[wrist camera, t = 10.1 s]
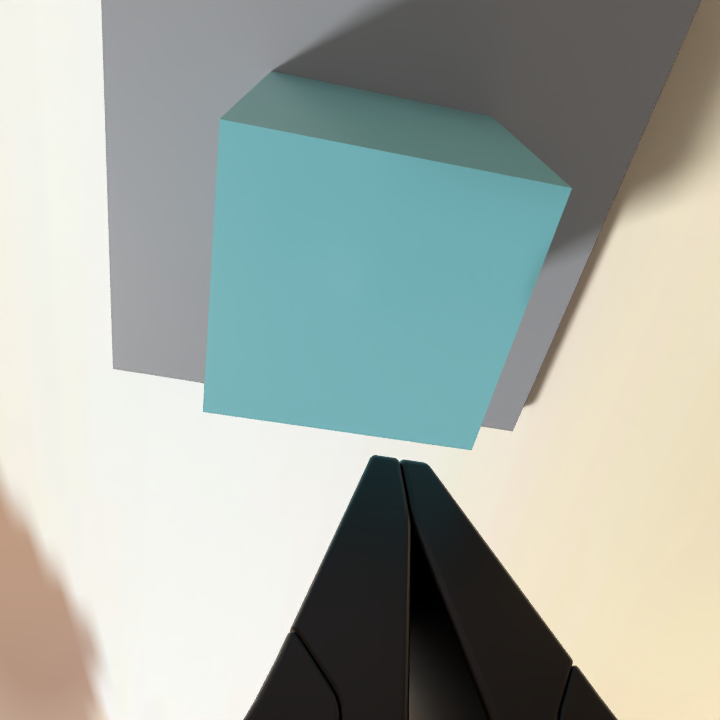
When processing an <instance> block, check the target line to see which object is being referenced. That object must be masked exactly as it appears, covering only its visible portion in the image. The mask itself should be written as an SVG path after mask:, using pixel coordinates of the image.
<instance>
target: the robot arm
mask: <svg viewBox="0 0 720 720" xmlns="http://www.w3.org/2000/svg"><path fill="white" fill-rule="evenodd" d="M572 664H573V661H572V659H571V657H570V656H569V655H568V653H567V652H566V650H565V649H564V648H563V646H562V645H561V644H560V642H559V641H558V640H557V638H556V637H555V636H554V634H553V633H552V631H551V630H550V629H549V627H548V626H547V625H546V623H545V622H544V621H543V619H542V618H541V617H540V615H539V614H538V612H537V611H536V610H535V608H534V607H533V606H532V604H531V603H530V602H529V600H528V599H527V598H526V596H525V595H524V593H523V592H522V591H521V589H520V588H519V587H518V585H517V584H516V583H515V581H514V580H513V579H512V577H511V576H510V574H509V573H508V572H507V570H506V569H505V568H504V566H503V565H502V564H501V562H500V561H499V560H498V558H497V557H496V556H495V554H494V553H493V551H492V550H491V549H490V547H489V546H488V545H487V543H486V542H485V541H484V539H483V538H482V537H481V535H480V534H479V532H478V531H477V530H476V528H475V527H474V526H473V524H472V523H471V522H470V520H469V519H468V518H467V516H466V515H465V513H464V512H463V511H462V509H461V508H460V507H459V505H458V504H457V503H456V501H455V500H454V499H453V497H452V496H451V494H450V493H449V492H448V490H447V489H446V488H445V486H444V485H443V484H442V482H441V481H440V480H439V478H438V477H437V475H436V474H435V473H434V471H433V470H432V469H431V467H430V466H429V465H427V464H426V463H423V462H416V461H410V460H402V461H400V462H399V461H398V460H397V459H396V458H391V457H384V456H378V455H374V456H372V457H371V458H370V460H369V462H368V464H367V466H366V468H365V471H364V473H363V475H362V477H361V479H360V481H359V483H358V486H357V488H356V490H355V492H354V494H353V496H352V498H351V501H350V503H349V505H348V507H347V509H346V511H345V513H344V516H343V518H342V520H341V522H340V524H339V526H338V528H337V531H336V533H335V535H334V537H333V539H332V541H331V543H330V545H329V548H328V550H327V552H326V554H325V556H324V558H323V560H322V563H321V565H320V567H319V569H318V571H317V573H316V575H315V578H314V580H313V582H312V584H311V586H310V588H309V590H308V593H307V595H306V597H305V599H304V601H303V603H302V605H301V608H300V610H299V612H298V614H297V616H296V618H295V620H294V623H293V625H292V627H291V630H290V633H288V635H287V637H286V639H285V641H284V643H283V645H282V647H281V650H280V652H279V654H278V656H277V658H276V660H275V662H274V664H273V666H272V668H271V670H270V672H269V674H268V676H267V678H266V680H265V682H264V684H263V686H262V688H261V690H260V692H259V693H258V695H257V697H256V699H255V701H254V703H253V705H252V706H251V708H250V710H249V711H248V713H247V715H246V716H245V718H244V720H618V719H617V718H616V717H615V716H614V714H613V713H612V712H611V710H610V709H609V708H608V706H607V705H606V704H605V703H604V701H603V700H602V699H601V697H600V696H599V695H598V693H597V692H596V691H595V689H594V688H593V687H592V685H591V684H590V683H589V681H588V680H587V679H586V677H585V676H584V674H583V673H582V672H581V670H580V669H579V668H578V667H577V666H572Z"/></svg>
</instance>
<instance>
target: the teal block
mask: <svg viewBox="0 0 720 720" xmlns="http://www.w3.org/2000/svg"><path fill="white" fill-rule="evenodd" d="M571 190H572V188H571V187H570V186H569V185H568V184H567V183H566V182H565V181H563V180H562V179H561V178H560V177H559V176H558V175H557V174H556V173H555V172H553V171H552V170H551V169H550V168H549V167H548V166H547V165H546V164H545V163H543V162H542V161H541V160H540V159H539V158H538V157H537V156H536V155H535V154H533V153H532V152H531V151H530V150H529V149H528V148H527V147H526V146H524V145H523V144H522V143H521V142H520V141H519V140H518V139H517V138H516V137H514V136H513V135H512V134H511V133H510V132H509V131H508V130H507V129H506V128H504V127H503V126H502V125H501V124H500V123H499V122H498V121H497V120H495V119H494V118H493V117H491V116H487V115H482V114H477V113H472V112H467V111H462V110H458V109H453V108H448V107H443V106H438V105H433V104H429V103H424V102H419V101H414V100H409V99H404V98H400V97H395V96H390V95H385V94H380V93H375V92H371V91H366V90H361V89H356V88H351V87H346V86H342V85H337V84H332V83H327V82H322V81H318V80H313V79H308V78H303V77H298V76H293V75H289V74H284V73H279V72H274V71H271V72H270V73H269V74H268V75H267V76H265V77H264V78H263V79H262V80H261V81H260V82H259V83H258V84H257V85H256V86H255V87H254V88H253V89H251V90H250V91H249V92H248V93H247V94H246V95H245V96H244V97H243V98H242V99H241V100H240V101H239V102H237V103H236V104H235V105H234V106H233V107H232V108H231V109H230V110H229V111H228V112H227V113H226V114H224V115H223V116H222V117H221V118H220V122H219V139H218V157H217V174H216V192H215V210H214V227H213V245H212V262H211V280H210V297H209V315H208V333H207V350H206V368H205V385H204V403H203V412H208V413H215V414H222V415H229V416H236V417H243V418H250V419H257V420H264V421H271V422H278V423H285V424H292V425H299V426H306V427H313V428H320V429H327V430H334V431H341V432H348V433H355V434H362V435H369V436H376V437H383V438H390V439H397V440H404V441H411V442H418V443H425V444H432V445H439V446H446V447H453V448H460V449H467V450H472V448H473V445H474V442H475V440H476V437H477V435H478V432H479V429H480V427H481V424H482V422H483V419H484V416H485V414H486V411H487V409H488V406H489V403H490V401H491V398H492V396H493V393H494V390H495V388H496V385H497V382H498V380H499V377H500V375H501V372H502V369H503V367H504V364H505V362H506V359H507V356H508V354H509V351H510V349H511V346H512V343H513V341H514V338H515V336H516V333H517V330H518V328H519V325H520V323H521V320H522V317H523V315H524V312H525V310H526V307H527V304H528V302H529V299H530V296H531V294H532V291H533V289H534V286H535V283H536V281H537V278H538V276H539V273H540V270H541V268H542V265H543V263H544V260H545V257H546V255H547V252H548V250H549V247H550V244H551V242H552V239H553V237H554V234H555V231H556V229H557V226H558V223H559V221H560V218H561V216H562V213H563V210H564V208H565V205H566V203H567V200H568V197H569V195H570V192H571Z"/></svg>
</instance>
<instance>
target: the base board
mask: <svg viewBox="0 0 720 720" xmlns="http://www.w3.org/2000/svg"><path fill="white" fill-rule="evenodd" d="M700 2H701V0H101V5H102V37H103V68H104V99H105V131H106V162H107V193H108V225H109V256H110V287H111V319H112V350H113V369H118V370H124V371H130V372H137V373H143V374H150V375H156V376H162V377H169V378H175V379H182V380H188V381H194V382H201V383H205V368H206V350H207V333H208V315H209V297H210V280H211V262H212V245H213V227H214V210H215V192H216V174H217V157H218V139H219V122H220V118H221V117H222V116H223V115H224V114H226V113H227V112H228V111H229V110H230V109H231V108H232V107H233V106H234V105H235V104H236V103H237V102H239V101H240V100H241V99H242V98H243V97H244V96H245V95H246V94H247V93H248V92H249V91H250V90H251V89H253V88H254V87H255V86H256V85H257V84H258V83H259V82H260V81H261V80H262V79H263V78H264V77H265V76H267V75H268V74H269V73H270V72H271V71H274V72H279V73H284V74H289V75H293V76H298V77H303V78H308V79H313V80H318V81H322V82H327V83H332V84H337V85H342V86H346V87H351V88H356V89H361V90H366V91H371V92H375V93H380V94H385V95H390V96H395V97H400V98H404V99H409V100H414V101H419V102H424V103H429V104H433V105H438V106H443V107H448V108H453V109H458V110H462V111H467V112H472V113H477V114H482V115H487V116H491V117H493V118H494V119H495V120H497V121H498V122H499V123H500V124H501V125H502V126H503V127H504V128H506V129H507V130H508V131H509V132H510V133H511V134H512V135H513V136H514V137H516V138H517V139H518V140H519V141H520V142H521V143H522V144H523V145H524V146H526V147H527V148H528V149H529V150H530V151H531V152H532V153H533V154H535V155H536V156H537V157H538V158H539V159H540V160H541V161H542V162H543V163H545V164H546V165H547V166H548V167H549V168H550V169H551V170H552V171H553V172H555V173H556V174H557V175H558V176H559V177H560V178H561V179H562V180H563V181H565V182H566V183H567V184H568V185H569V186H570V187H571V188H572V190H571V192H570V195H569V197H568V200H567V203H566V205H565V208H564V210H563V213H562V216H561V218H560V221H559V223H558V226H557V229H556V231H555V234H554V237H553V239H552V242H551V244H550V247H549V250H548V252H547V255H546V257H545V260H544V263H543V265H542V268H541V270H540V273H539V276H538V278H537V281H536V283H535V286H534V289H533V291H532V294H531V296H530V299H529V302H528V304H527V307H526V310H525V312H524V315H523V317H522V320H521V323H520V325H519V328H518V330H517V333H516V336H515V338H514V341H513V343H512V346H511V349H510V351H509V354H508V356H507V359H506V362H505V364H504V367H503V369H502V372H501V375H500V377H499V380H498V382H497V385H496V388H495V390H494V393H493V396H492V398H491V401H490V403H489V406H488V409H487V411H486V414H485V416H484V419H483V422H482V424H481V426H482V427H489V428H495V429H501V430H508V431H513V429H514V427H515V425H516V422H517V420H518V418H519V416H520V413H521V411H522V409H523V406H524V404H525V402H526V400H527V397H528V395H529V393H530V390H531V388H532V386H533V384H534V381H535V379H536V377H537V374H538V372H539V370H540V368H541V365H542V363H543V361H544V358H545V356H546V354H547V352H548V349H549V347H550V345H551V342H552V340H553V338H554V336H555V333H556V331H557V329H558V326H559V324H560V322H561V319H562V317H563V315H564V313H565V310H566V308H567V306H568V303H569V301H570V299H571V297H572V294H573V292H574V290H575V287H576V285H577V283H578V281H579V278H580V276H581V274H582V271H583V269H584V267H585V265H586V262H587V260H588V258H589V255H590V253H591V251H592V249H593V246H594V244H595V242H596V239H597V237H598V235H599V233H600V230H601V228H602V226H603V223H604V221H605V219H606V217H607V214H608V212H609V210H610V207H611V205H612V203H613V201H614V198H615V196H616V194H617V191H618V189H619V187H620V185H621V182H622V180H623V178H624V175H625V173H626V171H627V169H628V166H629V164H630V162H631V159H632V157H633V155H634V152H635V150H636V148H637V146H638V143H639V141H640V139H641V136H642V134H643V132H644V130H645V127H646V125H647V123H648V120H649V118H650V116H651V114H652V111H653V109H654V107H655V104H656V102H657V100H658V98H659V95H660V93H661V91H662V88H663V86H664V84H665V82H666V79H667V77H668V75H669V72H670V70H671V68H672V66H673V63H674V61H675V59H676V56H677V54H678V52H679V50H680V47H681V45H682V43H683V40H684V38H685V36H686V34H687V31H688V29H689V27H690V24H691V22H692V20H693V18H694V15H695V13H696V11H697V8H698V6H699V4H700Z"/></svg>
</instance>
